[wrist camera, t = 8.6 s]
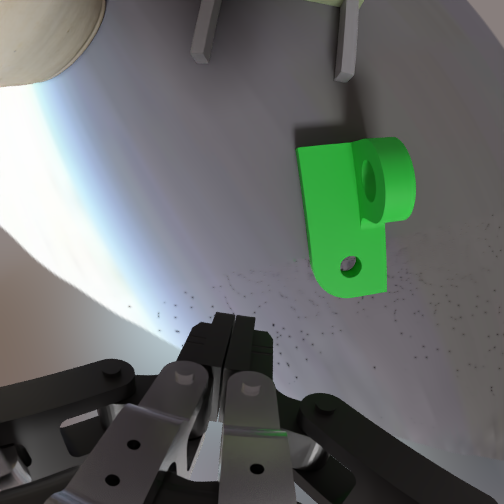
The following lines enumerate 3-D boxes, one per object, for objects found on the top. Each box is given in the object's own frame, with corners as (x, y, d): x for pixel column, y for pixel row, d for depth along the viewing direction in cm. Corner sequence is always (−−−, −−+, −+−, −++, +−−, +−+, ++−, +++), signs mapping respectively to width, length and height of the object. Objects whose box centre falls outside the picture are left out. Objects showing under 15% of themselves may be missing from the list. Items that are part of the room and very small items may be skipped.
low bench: (357, -1, 19) (370, -22, 15) (352, 84, 22) (366, 70, 18) (209, -20, 19) (201, -44, 15) (190, 63, 22) (178, 46, 18)
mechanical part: (295, 149, 23) (308, 140, 16) (367, 142, 23) (409, 133, 15) (312, 293, 26) (329, 341, 19) (379, 283, 26) (416, 324, 18)
